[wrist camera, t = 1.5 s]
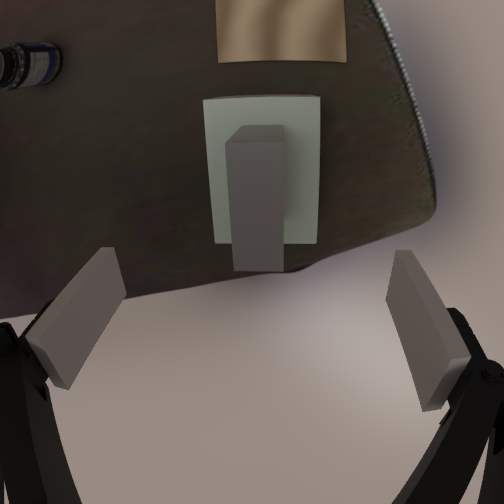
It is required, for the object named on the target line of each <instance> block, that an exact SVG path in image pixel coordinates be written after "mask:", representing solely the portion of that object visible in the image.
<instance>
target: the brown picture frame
mask: <svg viewBox="0 0 504 504" xmlns="http://www.w3.org/2000/svg"><path fill="white" fill-rule="evenodd" d="M216 24H217V46H218V63H230V62H246V61H326V62H342V63H346V34H345V15H344V0H216Z"/></svg>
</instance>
